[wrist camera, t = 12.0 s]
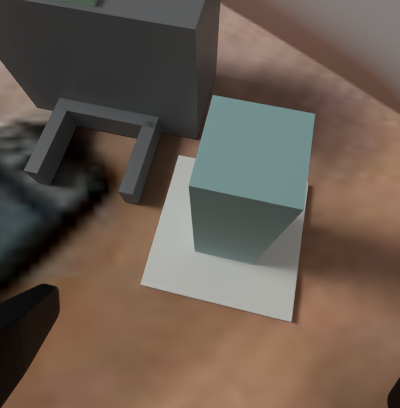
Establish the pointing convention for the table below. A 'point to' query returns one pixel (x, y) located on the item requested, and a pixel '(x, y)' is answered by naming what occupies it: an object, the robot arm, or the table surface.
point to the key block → (248, 177)
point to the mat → (220, 261)
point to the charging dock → (112, 72)
